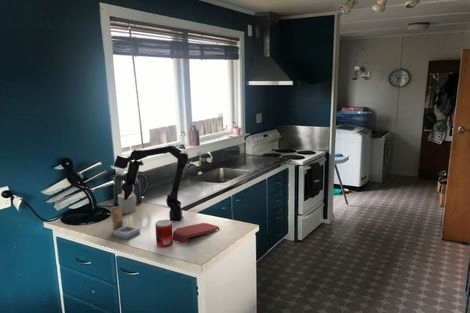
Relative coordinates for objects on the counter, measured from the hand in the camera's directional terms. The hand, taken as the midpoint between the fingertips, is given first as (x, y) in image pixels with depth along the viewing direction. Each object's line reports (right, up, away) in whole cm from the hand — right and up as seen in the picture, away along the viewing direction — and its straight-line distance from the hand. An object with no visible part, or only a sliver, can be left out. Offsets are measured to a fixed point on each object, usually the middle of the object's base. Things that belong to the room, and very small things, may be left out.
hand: (126, 197), depth 206 cm
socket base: (+5, -17, -17) cm, 25 cm away
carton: (+40, -17, -16) cm, 47 cm away
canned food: (+27, -19, -28) cm, 44 cm away
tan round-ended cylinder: (-1, -16, -12) cm, 20 cm away
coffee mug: (-5, -10, +22) cm, 25 cm away
